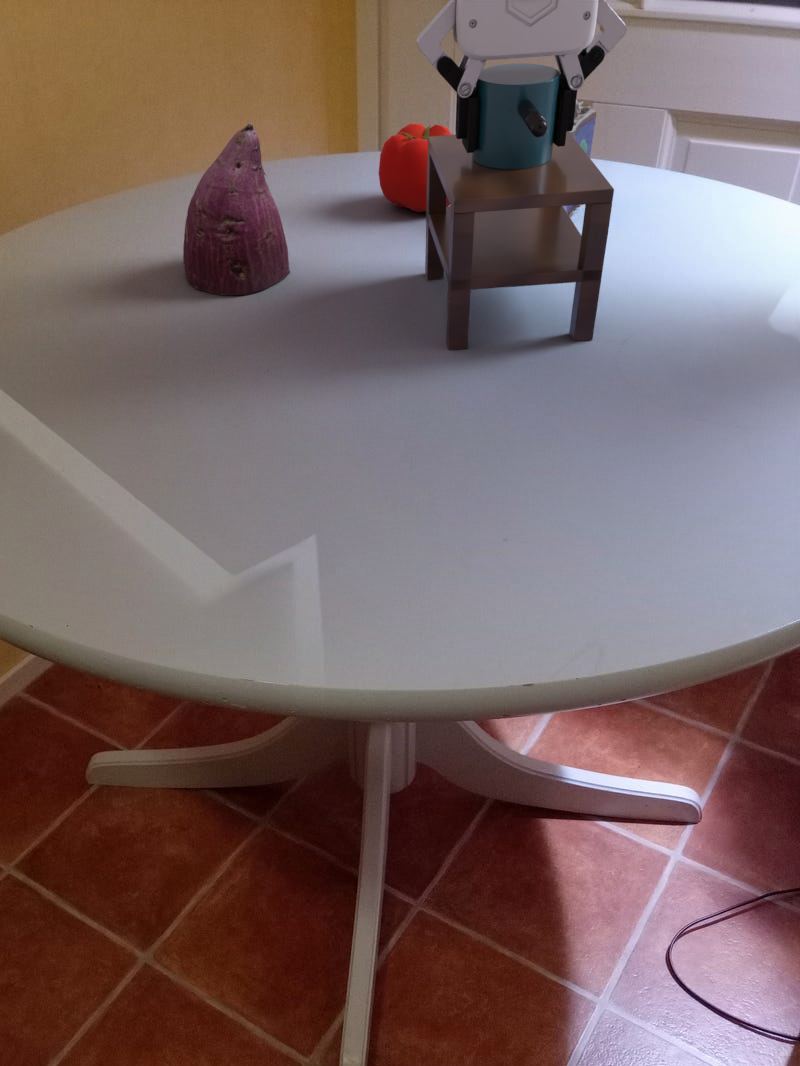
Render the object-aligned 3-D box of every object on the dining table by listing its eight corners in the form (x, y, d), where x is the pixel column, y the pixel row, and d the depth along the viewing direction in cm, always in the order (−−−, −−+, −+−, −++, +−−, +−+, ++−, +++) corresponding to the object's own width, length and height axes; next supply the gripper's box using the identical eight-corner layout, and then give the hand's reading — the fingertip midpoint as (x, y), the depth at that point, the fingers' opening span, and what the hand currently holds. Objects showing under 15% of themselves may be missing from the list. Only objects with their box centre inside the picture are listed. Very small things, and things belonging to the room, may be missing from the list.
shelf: (551, 263, 93) (565, 126, 84) (592, 340, 81) (614, 188, 73) (425, 272, 93) (427, 136, 84) (448, 350, 81) (454, 200, 73)
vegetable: (297, 288, 99) (331, 130, 90) (263, 319, 91) (297, 149, 82) (202, 255, 100) (226, 95, 91) (161, 283, 92) (182, 111, 83)
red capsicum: (420, 227, 101) (421, 149, 96) (363, 206, 106) (362, 132, 101) (483, 203, 105) (487, 127, 100) (426, 184, 110) (427, 111, 105)
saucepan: (542, 142, 82) (550, 60, 78) (578, 193, 72) (588, 103, 68) (466, 147, 82) (470, 66, 78) (492, 199, 73) (497, 110, 68)
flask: (561, 229, 99) (574, 112, 91) (533, 225, 100) (544, 110, 93) (588, 199, 104) (602, 87, 97) (562, 196, 106) (574, 85, 98)
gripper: (413, -123, 64) (410, 167, 76) (677, -142, 64) (632, 151, 76) (401, -134, 69) (400, 138, 82) (644, -152, 69) (607, 123, 81)
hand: (512, 142), depth 79 cm, fingers closed on saucepan, 6 cm apart
